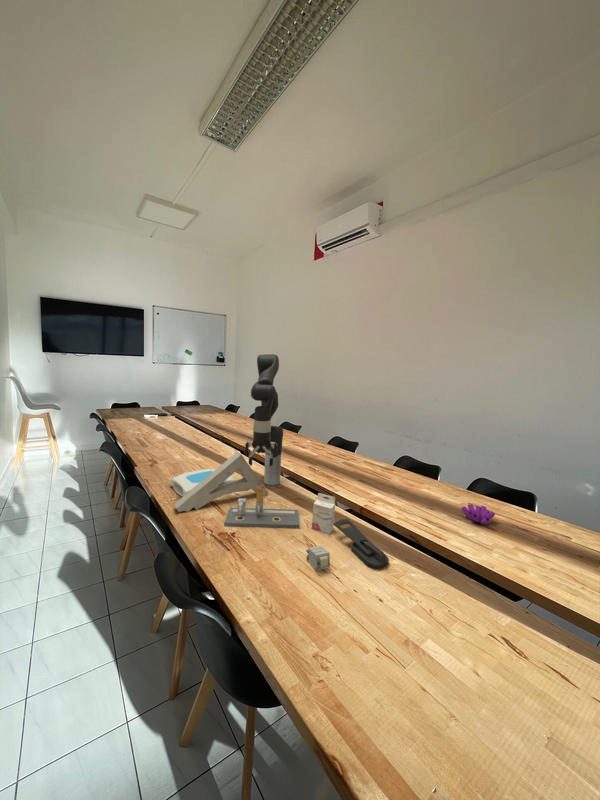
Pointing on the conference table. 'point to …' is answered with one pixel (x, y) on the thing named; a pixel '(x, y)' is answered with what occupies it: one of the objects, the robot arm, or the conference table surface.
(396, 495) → the conference table surface
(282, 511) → the gauge plate
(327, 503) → the ink cartridge box
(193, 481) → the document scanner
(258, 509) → the sliding divider leg
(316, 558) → the electrical component
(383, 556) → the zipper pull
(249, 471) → the wall bracket
